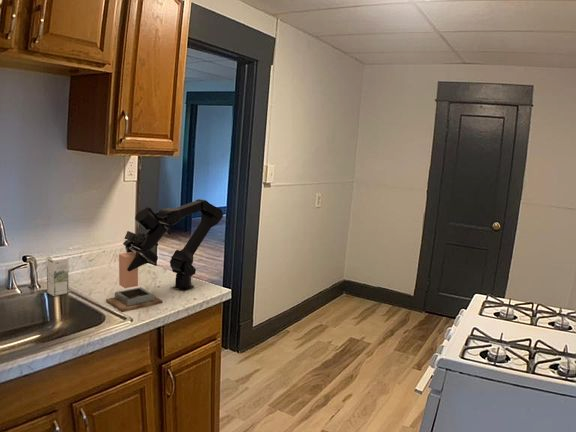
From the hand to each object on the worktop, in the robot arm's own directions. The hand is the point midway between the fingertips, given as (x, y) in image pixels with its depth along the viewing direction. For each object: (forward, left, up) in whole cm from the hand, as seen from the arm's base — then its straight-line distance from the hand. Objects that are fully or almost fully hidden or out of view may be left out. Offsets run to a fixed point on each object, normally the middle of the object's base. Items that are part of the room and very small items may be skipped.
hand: (124, 268), depth 172 cm
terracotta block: (-1, +1, -7) cm, 7 cm away
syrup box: (+7, -27, -13) cm, 31 cm away
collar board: (-2, +3, -13) cm, 13 cm away
